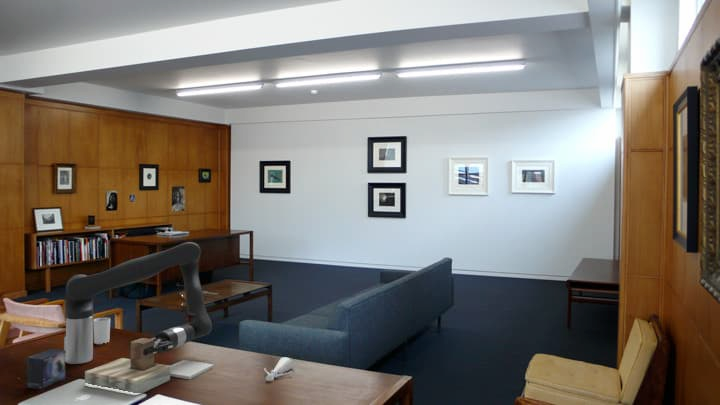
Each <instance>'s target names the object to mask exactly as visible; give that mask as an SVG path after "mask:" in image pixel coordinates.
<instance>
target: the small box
mask: <svg viewBox="0 0 720 405" xmlns="http://www.w3.org/2000/svg"><path fill="white" fill-rule="evenodd" d="M65 355H66V350H64V349H56V348H49V349H46V350H43V351H40V352H38V353H35V354H32V355H30V356H27V365H26V366H27V368H26V369H27V370H26V373H27V374H26V377H27V378H26V388H27V389H36V390H44V389H46V388H48V387H50V386H52V385H55V384H57V383H60V382H62V381H64V380H66V361H65Z"/></svg>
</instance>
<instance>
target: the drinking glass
mask: <svg viewBox="0 0 720 405" xmlns="http://www.w3.org/2000/svg"><path fill="white" fill-rule="evenodd" d="M110 332H111V317H98V318H93V344H96V345H103V343H105V344H107V342H108V343H110V336H111V335H110V334H111V333H110Z"/></svg>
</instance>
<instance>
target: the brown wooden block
mask: <svg viewBox="0 0 720 405" xmlns="http://www.w3.org/2000/svg"><path fill="white" fill-rule="evenodd" d="M153 345H154V339H151V338H147V337H146V338H145V337H140V338H138V339H135V340H132V341H130V347H131V353H130V359H131V366H130V369H134V370H140V371H145V370H147V369H149V368H152V367H154V363H155V353H151V354H148V355H146V356H144V355H143V350H144V349H146V348H148V347H152V346H153Z"/></svg>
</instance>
